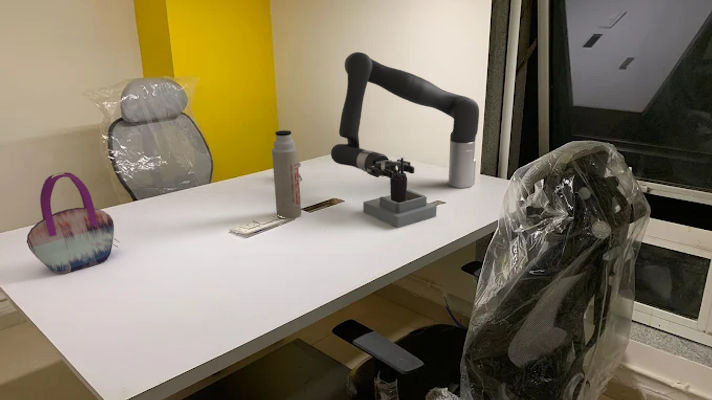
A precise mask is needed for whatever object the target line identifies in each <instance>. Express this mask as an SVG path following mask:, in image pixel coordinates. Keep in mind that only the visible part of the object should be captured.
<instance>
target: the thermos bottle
mask: <svg viewBox="0 0 712 400" xmlns="http://www.w3.org/2000/svg"><path fill="white" fill-rule="evenodd" d="M274 135H275V139H276V140H275V141H274V142H273V145H272V146H273V148H272V149H271V152H272V153H271V155H272V169H273V181H274V182H273V183H274V193H275V194H274V195H275V207H276V208H275V209H276V216H277V215H279V216H282V217H285V218H292V219H291V220H293V219H297V218H300V217H301V215H302V207H301V189H300V178H299V174H300V172H299V167H298V162H299V154H298V148H297V147H296V142H295V140H293V139H292V131H291V130H286V129H285V130H284V129H283V130H278V131H275V133H274Z"/></svg>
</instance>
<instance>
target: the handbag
mask: <svg viewBox="0 0 712 400" xmlns="http://www.w3.org/2000/svg"><path fill="white" fill-rule="evenodd" d="M61 178H69V179H70V180H71V181H72V183H73V184H74V185H75V187H76V188H77V190H78V192H79V194H80V197H81V201H82V205H83V207H75V208H68V209H64V210H62V211H61V210H60V211H58V212H55V213H52V205H51V199H52V194H53V190H54V188H55V187H54V186H56V182H57V181H58V180H60V179H61ZM39 201H40V209H41V210H40V211H41V215H42V220H40V221H38V222H37V223H36V224H35V225H33V227H31V228H30V230H29V232H28V233H27V236H26V243H27V246H28V248H29V250H30V251H31V253H32V254H33V255H34V256H35V257H36V258H37V260H39V261H40V262H41V263H42V264H43V265H44V266H45V267H46V268H47V269H49V270H51V271H52V272H55V273H56V274H68V273H72V272H76V271H78V270H81V269H82V270H83V269H85V268H89V267H92V266H96V265H99V264H102V263H104V262H106V261H108V258H109V257H110V255H111V253H112V248H113V246H114V247H116V248H118V245H116V244H114V240H115V241H116V242H118V243H120V241H119V240H118V239H116V238H114V235H115V226H114V225H115V224H114V220H113V218H112V217H111V215H110V214H108V213H107V212H105V211H103V210H101V209H98V208H95V206H94V203H93V200H92V196H91V194H90V191H89V189H88V187H87V186H86V184H85V183H84V182H83V181H82V180H81V179H80V178H79V177H77V176H76V175H75V174H74V173H71V172H63V173H60V172H57V173H56V174H52V175H49V176H48V177H47V178H46V179H45V181H44V183H43V184H42V188H41V191H40V197H39Z"/></svg>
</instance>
